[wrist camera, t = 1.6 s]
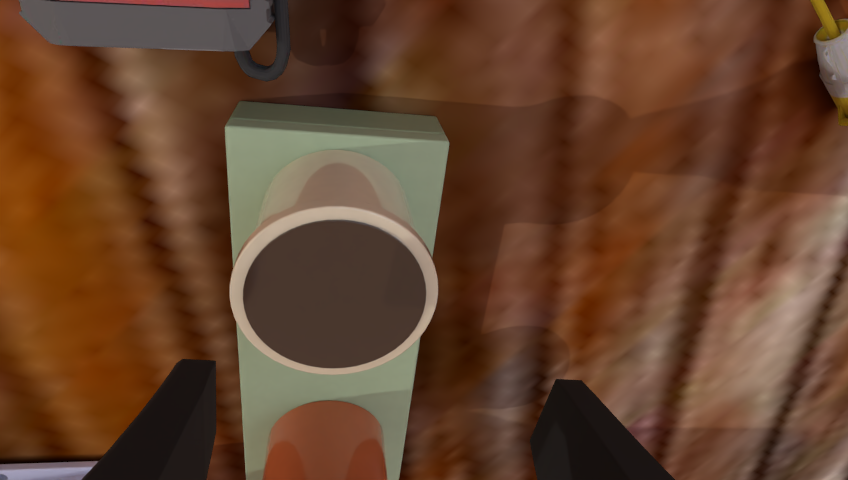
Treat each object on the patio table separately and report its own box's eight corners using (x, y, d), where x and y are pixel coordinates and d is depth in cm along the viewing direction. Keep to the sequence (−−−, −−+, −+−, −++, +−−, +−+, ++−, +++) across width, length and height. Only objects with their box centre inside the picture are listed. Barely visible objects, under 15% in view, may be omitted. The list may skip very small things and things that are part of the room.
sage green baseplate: (254, 438, 27) (246, 488, 25) (238, 99, 19) (223, 125, 16) (394, 434, 28) (399, 481, 26) (437, 115, 20) (450, 141, 18)
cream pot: (255, 284, 19) (233, 378, 15) (250, 135, 17) (221, 202, 12) (408, 287, 20) (426, 377, 16) (426, 147, 17) (453, 213, 13)
